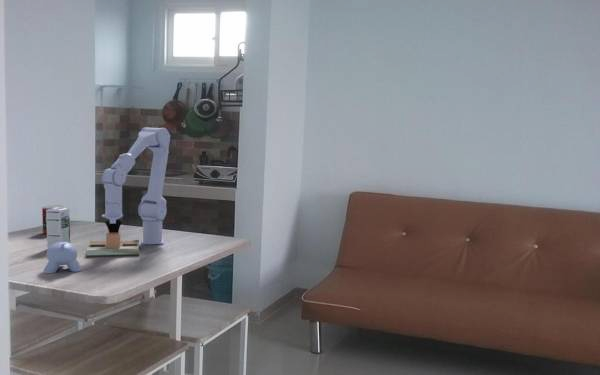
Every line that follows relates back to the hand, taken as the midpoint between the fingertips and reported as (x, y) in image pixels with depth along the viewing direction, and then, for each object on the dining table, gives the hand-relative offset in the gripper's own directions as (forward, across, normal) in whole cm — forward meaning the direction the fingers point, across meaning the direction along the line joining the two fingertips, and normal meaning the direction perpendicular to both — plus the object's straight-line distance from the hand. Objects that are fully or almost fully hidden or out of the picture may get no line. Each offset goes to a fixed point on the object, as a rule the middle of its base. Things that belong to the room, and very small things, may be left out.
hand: (113, 240), depth 215 cm
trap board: (+4, 0, 0) cm, 4 cm away
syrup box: (+4, -8, -20) cm, 22 cm away
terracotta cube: (+1, +4, 0) cm, 4 cm away
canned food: (+4, -39, -26) cm, 47 cm away
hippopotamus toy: (+4, +24, -14) cm, 28 cm away
